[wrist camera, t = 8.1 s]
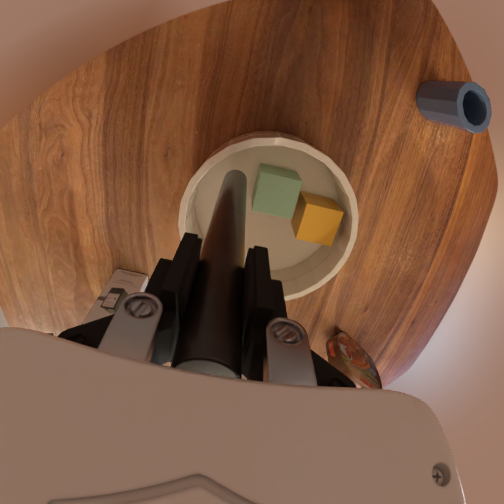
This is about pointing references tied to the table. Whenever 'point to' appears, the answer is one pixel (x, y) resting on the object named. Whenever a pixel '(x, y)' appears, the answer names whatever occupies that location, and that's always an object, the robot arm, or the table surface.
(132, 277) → the ink box
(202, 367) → the stirring stick
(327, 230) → the mustard cube
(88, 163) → the table surface
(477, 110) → the holder
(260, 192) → the sage cube
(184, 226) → the bowl
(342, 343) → the tin
